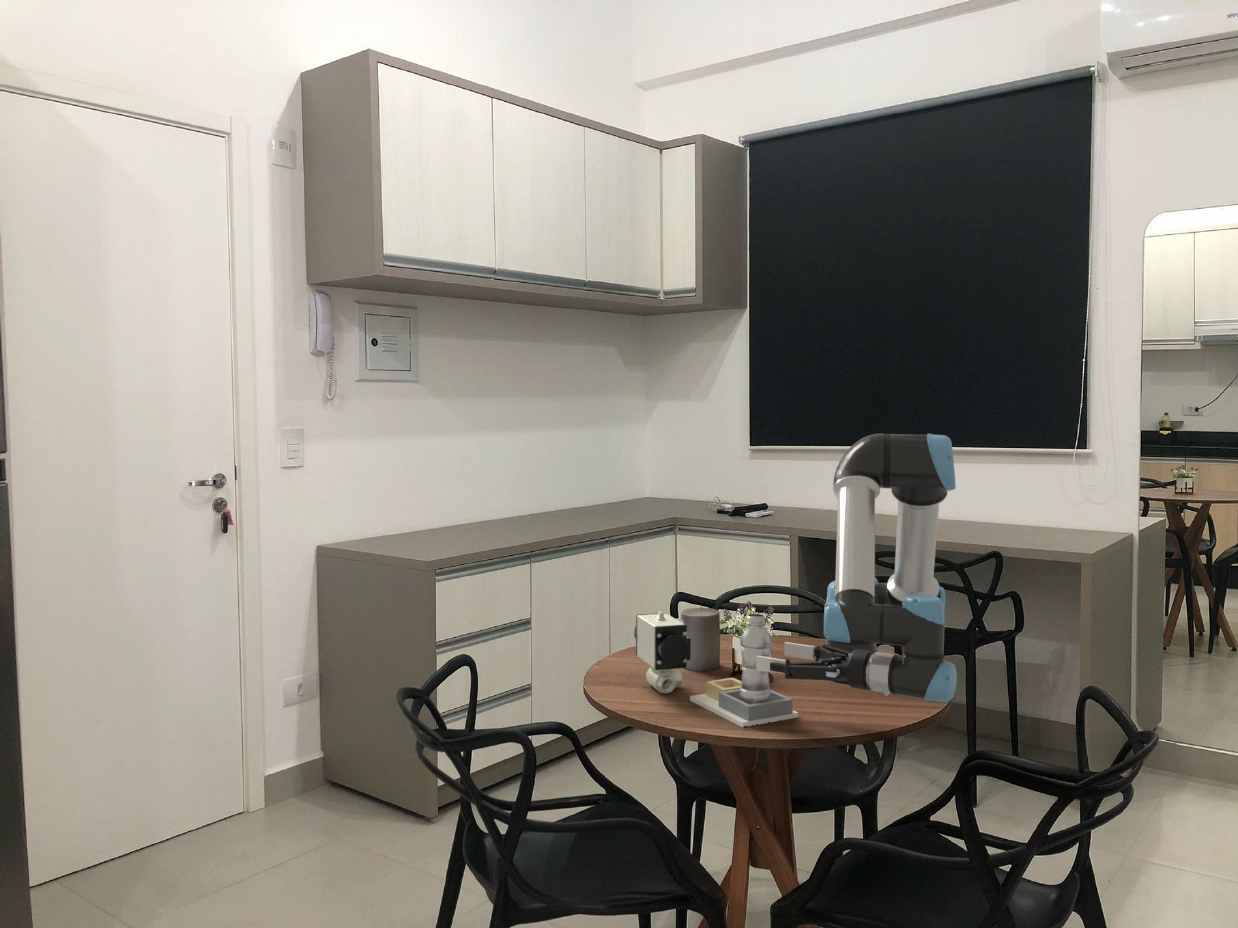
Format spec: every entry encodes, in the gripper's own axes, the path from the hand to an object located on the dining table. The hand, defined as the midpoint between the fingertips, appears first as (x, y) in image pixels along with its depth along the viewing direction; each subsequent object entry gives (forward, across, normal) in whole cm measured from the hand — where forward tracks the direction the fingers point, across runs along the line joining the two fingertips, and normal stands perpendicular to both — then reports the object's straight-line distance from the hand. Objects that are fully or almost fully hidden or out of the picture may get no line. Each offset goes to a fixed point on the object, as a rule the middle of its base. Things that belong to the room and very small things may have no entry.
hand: (771, 655), depth 203 cm
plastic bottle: (+4, 0, -12) cm, 13 cm away
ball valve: (+29, +5, -13) cm, 32 cm away
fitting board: (+8, +3, -13) cm, 15 cm away
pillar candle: (+31, +28, -13) cm, 44 cm away
